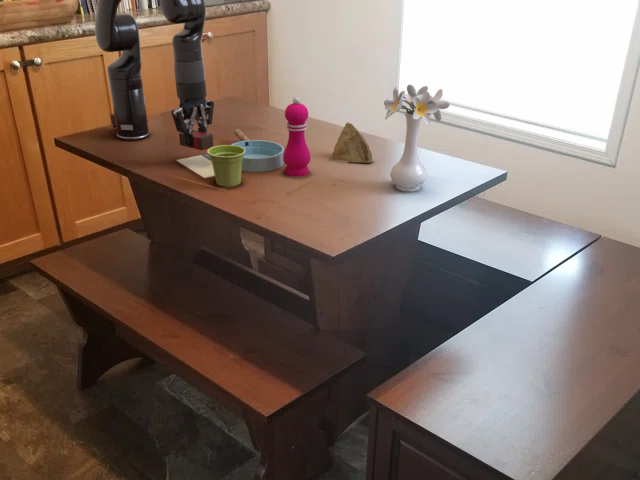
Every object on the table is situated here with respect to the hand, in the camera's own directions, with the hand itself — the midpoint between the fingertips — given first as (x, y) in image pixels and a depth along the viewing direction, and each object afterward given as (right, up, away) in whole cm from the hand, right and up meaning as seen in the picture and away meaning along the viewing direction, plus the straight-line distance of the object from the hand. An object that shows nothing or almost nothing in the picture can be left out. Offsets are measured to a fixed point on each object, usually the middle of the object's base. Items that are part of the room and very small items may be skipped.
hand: (196, 144), depth 184 cm
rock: (+42, -2, +10) cm, 43 cm away
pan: (+15, -4, +5) cm, 17 cm away
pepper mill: (+27, -8, 0) cm, 28 cm away
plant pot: (+10, -12, -7) cm, 18 cm away
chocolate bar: (0, 0, 0) cm, 0 cm away
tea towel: (+2, -6, +2) cm, 6 cm away
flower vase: (+56, -13, -5) cm, 58 cm away
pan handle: (+10, +5, +14) cm, 18 cm away
